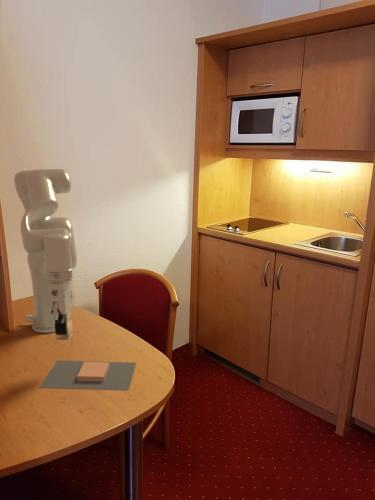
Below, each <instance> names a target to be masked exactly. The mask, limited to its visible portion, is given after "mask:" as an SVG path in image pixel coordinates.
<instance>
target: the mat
mask: <svg viewBox="0 0 375 500" xmlns="http://www.w3.org/2000/svg"><path fill="white" fill-rule="evenodd" d="M84 362H98V361H93V360H90V361H88V360H60V359H59V360H56V362H55V363H54V365H53V366H52V368H51V369H50V370H49V372H48V374H47V375H46V376H45V378H44V380H43V381H42V383H41V385H40V386H39V389H57V390H58V389H59V390H60V389H61V390H62V389H63V390H65V389H66V390H90V391H91V390H94V391H95V390H97V391H98V390H99V391H102V390H103V391H105V390H106V391H129V390H130V388H131V387H130V386H131V383H132V380H133V376H134V373H135V372H134V371H135V370H136V367H137V362H129V361H127V362H126V361H125V362H123V361H108V362H109V363H110V367H109V370H108V372H107V375H106V378H105V380H104V382H101V381H77V375H78V373H79V371H80V369H81V367H82V366H83V364H84Z"/></svg>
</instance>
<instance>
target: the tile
mask: <svg viewBox="0 0 375 500" xmlns="http://www.w3.org/2000/svg"><path fill="white" fill-rule="evenodd" d="M109 362H110V361H97V362H84V364H83V366H82V367H81V369H80V371H79V373H78V375H77V381H101V382H104V380H105V378H106V375H107V372H108V370H109V367H110V363H109Z"/></svg>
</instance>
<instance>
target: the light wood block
mask: <svg viewBox="0 0 375 500" xmlns="http://www.w3.org/2000/svg"><path fill="white" fill-rule="evenodd" d="M58 312H60V311H58ZM58 316H59V317H61V318H62V316H61V315H58ZM65 322H66V331H67V333H66V335H57V334H56V332H54V335H55V340H56V341H58V340H59V341H68V340H70V339H71V338H72V336H73V334H74V333H73V321H72V309H71V310H70V311H69V312H68V313H67V314H66V315H65ZM54 326H55V323H54Z"/></svg>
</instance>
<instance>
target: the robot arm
mask: <svg viewBox="0 0 375 500" xmlns="http://www.w3.org/2000/svg"><path fill="white" fill-rule="evenodd" d="M13 179H14V180H13V181H14V187H15V191H16V194H17V196H18V198H19V200H20V202H21V203H22V206H23V209H24V214H23V215H22V217H21V221H20V234H21V239H22V245H23V249H24V251H25V252H26V253H27V258H26V259H27V264H28V268H29V272H30V276H31V285H32V294H33V305H34V314H26V315H25V321H26V322H27V323H32V324H31V329H32V330H33V331H34V332H36V333H41V334H49V333H55V332H56V334H57V335H66V333H67V331H66V322H65V315H66V314H67V313H68V312H69V311H70V310H71V311H72V308H73V307H74V305H75V303H76V299H75V298H76V297H75V288H74V281H73V279H74V278H73V277H74V274H73V270H74V268H76V266H77V263H78V256H77V250H76V244H75V243H76V242H75V236H74V229H73V225H72V223H71V221H70V219H68V218H66V217H63V216H62V217H51V216H52V215H54V213H56V212H57V211H58V209H59V201H58V198H57V194H68V193H69V192H71V188H72V181H71V177H70V175H69V173H68V172H67V171H66V170H65V169H62V168H53V169H49V168H47V169H44V168H42V169H31V170H30V169H28V170H22V171H19V172H17V173H15V175H14V178H13ZM58 311H60V312H58ZM58 315H61V316H62V318H61V317H59V316H58ZM54 323H55V326H54Z"/></svg>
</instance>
